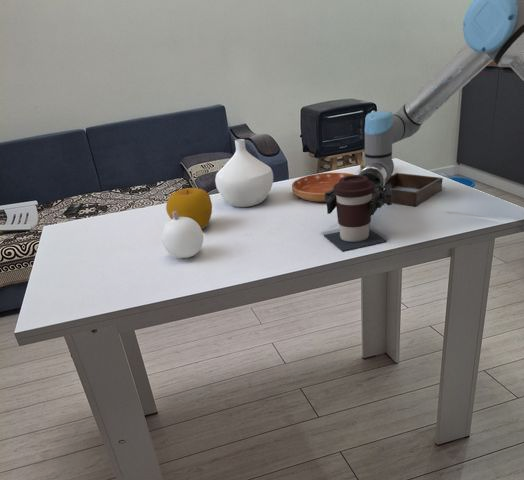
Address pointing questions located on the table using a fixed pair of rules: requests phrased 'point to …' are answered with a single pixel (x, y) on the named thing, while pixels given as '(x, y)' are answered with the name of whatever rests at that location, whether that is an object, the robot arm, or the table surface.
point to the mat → (346, 246)
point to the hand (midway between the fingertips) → (349, 209)
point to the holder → (410, 198)
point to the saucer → (316, 185)
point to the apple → (191, 205)
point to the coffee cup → (354, 207)
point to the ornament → (182, 236)
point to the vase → (244, 178)
